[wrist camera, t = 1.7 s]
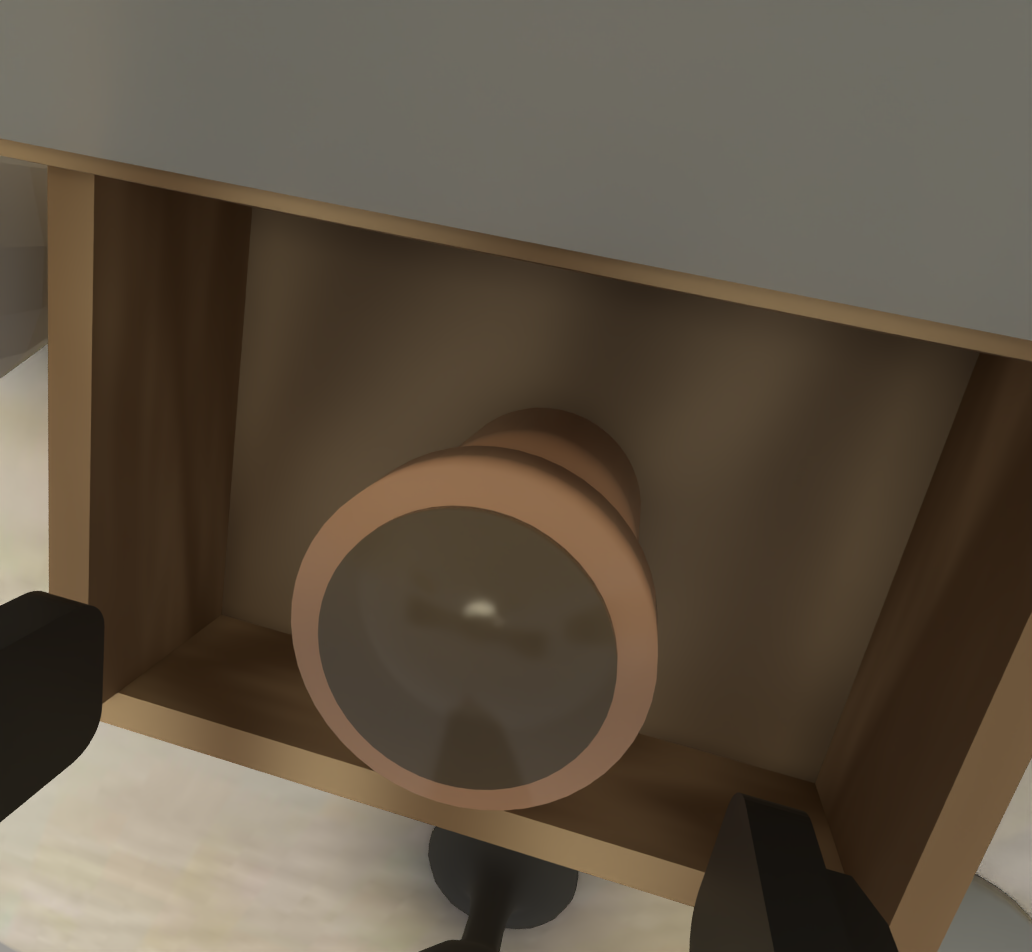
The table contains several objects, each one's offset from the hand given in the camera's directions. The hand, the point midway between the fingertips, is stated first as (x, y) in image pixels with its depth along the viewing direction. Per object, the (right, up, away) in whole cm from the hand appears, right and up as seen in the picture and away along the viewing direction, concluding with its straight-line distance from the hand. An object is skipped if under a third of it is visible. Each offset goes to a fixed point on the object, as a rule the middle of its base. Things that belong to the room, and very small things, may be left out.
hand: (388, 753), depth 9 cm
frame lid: (+1, +5, -6) cm, 8 cm away
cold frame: (+2, +3, +11) cm, 11 cm away
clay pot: (+2, +3, +10) cm, 11 cm away
